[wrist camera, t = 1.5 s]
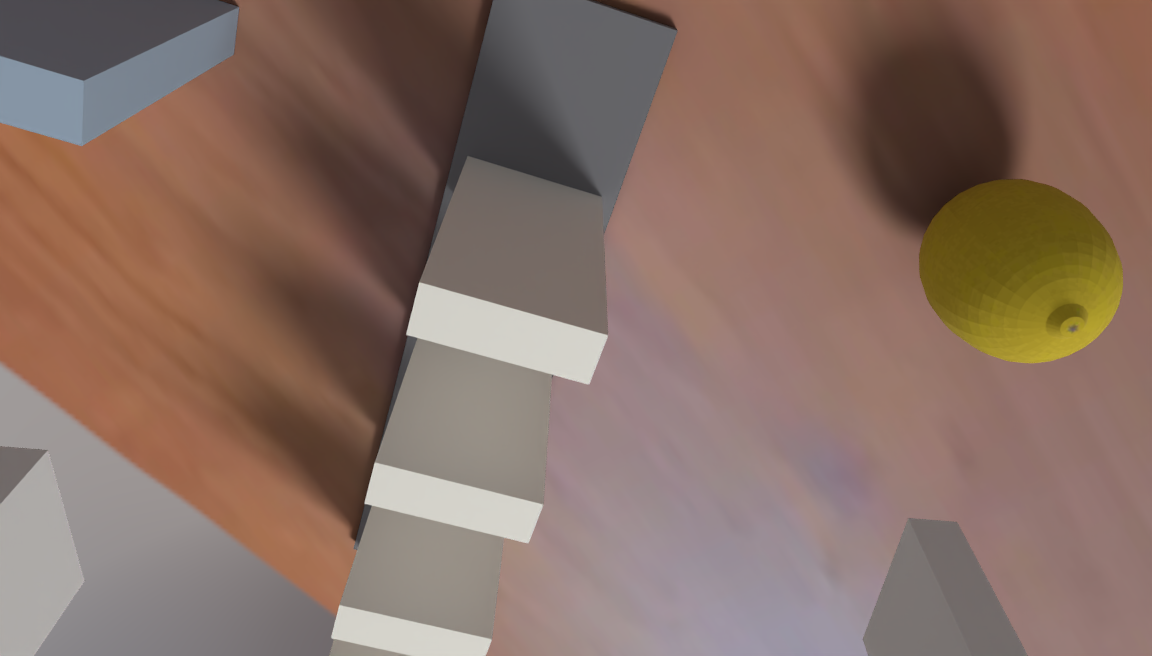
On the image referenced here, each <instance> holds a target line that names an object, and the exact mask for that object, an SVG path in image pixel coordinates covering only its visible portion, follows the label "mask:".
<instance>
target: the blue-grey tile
mask: <svg viewBox="0 0 1152 656" xmlns="http://www.w3.org/2000/svg"><path fill="white" fill-rule="evenodd" d="M238 14H239V7H238V6H235V5H232V4H228V3H225V2H222V1H219V0H0V123H4V124H7V125H11V126H14V127H18V128H21V129H25V130H28V131H31V132H35V133H38V134H42V135H45V136H49V137H52V138H56V139H59V140H63V141H66V142H70V143H73V144H77V145H80V146H83V145H84V144H86V143H88V142H89V141H91V140H93V139H94V138H96V137H98V136H99V135H101V134H103V133H104V132H106V131H108V130H109V129H111V128H113V127H114V126H116V125H118V124H119V123H121V122H123V121H124V120H126V119H127V118H129V117H131V116H132V115H134V114H136V113H137V112H139V111H141V110H142V109H144V108H146V107H147V106H149V105H151V104H152V103H154V102H156V101H157V100H159V99H161V98H162V97H164V96H166V95H167V94H169V93H171V92H172V91H174V90H176V89H177V88H179V87H181V86H182V85H184V84H186V83H187V82H189V81H191V80H192V79H194V78H196V77H197V76H199V75H201V74H202V73H204V72H205V71H207V70H209V69H210V68H212V67H214V66H215V65H217V64H219V63H220V62H222V61H224V60H225V59H227V58H229V57H230V56H232V55H234V48H235V40H236V31H237V22H238Z"/></svg>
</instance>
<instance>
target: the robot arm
mask: <svg viewBox="0 0 1152 656" xmlns="http://www.w3.org/2000/svg"><path fill="white" fill-rule="evenodd" d="M83 583H84V577H83V574H82V570H81V567H80V563H79V560H78V556H77V552H76V549H75V545H74V542H73V538H72V534H71V531H70V527H69V524H68V520H67V517H66V513H65V510H64V506H63V503H62V499H61V495H60V492H59V489H58V485H57V481H56V477H55V474H54V471H53V467H52V463H51V460H50V456H49V452H48V450H40V449H27V448H14V447H2V446H1V447H0V656H34V655H35V653H36V652H37V650H38V649H39V647H40V646H41V645H42V643H43V642H44V640H45V639H46V637H47V636H48V634H49V633H50V631H51V630H52V628H53V627H54V625H55V624H56V622H57V621H58V619H59V618H60V617H61V615H62V614H63V612H64V611H65V609H66V608H67V606H68V605H69V603H70V602H71V600H72V599H73V597H74V596H75V594H76V593H77V591H78V590H79V588H80V587H81V586H82V584H83ZM863 641H864V644H865V647H866V650H867V653H868V656H1028V655H1027V653H1026V651H1025V649H1024V647H1023V646H1022V644H1021V642H1020V640H1019V638H1018V636H1017V634H1016V632H1015V630H1014V629H1013V627H1012V625H1011V623H1010V621H1009V619H1008V617H1007V615H1006V613H1005V612H1004V610H1003V608H1002V606H1001V604H1000V602H999V600H998V598H997V596H996V595H995V593H994V591H993V589H992V587H991V585H990V583H989V581H988V579H987V578H986V576H985V574H984V572H983V570H982V568H981V566H980V564H979V562H978V561H977V559H976V557H975V555H974V553H973V551H972V549H971V547H970V545H969V544H968V542H967V540H966V538H965V536H964V534H963V532H962V530H961V528H960V527H959V525H958V523H957V522H951V521H938V520H926V519H913V518H908V521H907V523H906V526H905V529H904V531H903V534H902V537H901V539H900V542H899V545H898V547H897V550H896V553H895V555H894V558H893V560H892V563H891V566H890V568H889V571H888V574H887V576H886V579H885V582H884V584H883V587H882V590H881V592H880V595H879V598H878V600H877V603H876V606H875V608H874V611H873V613H872V616H871V619H870V621H869V624H868V627H867V629H866V632H865V635H864V637H863Z"/></svg>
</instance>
